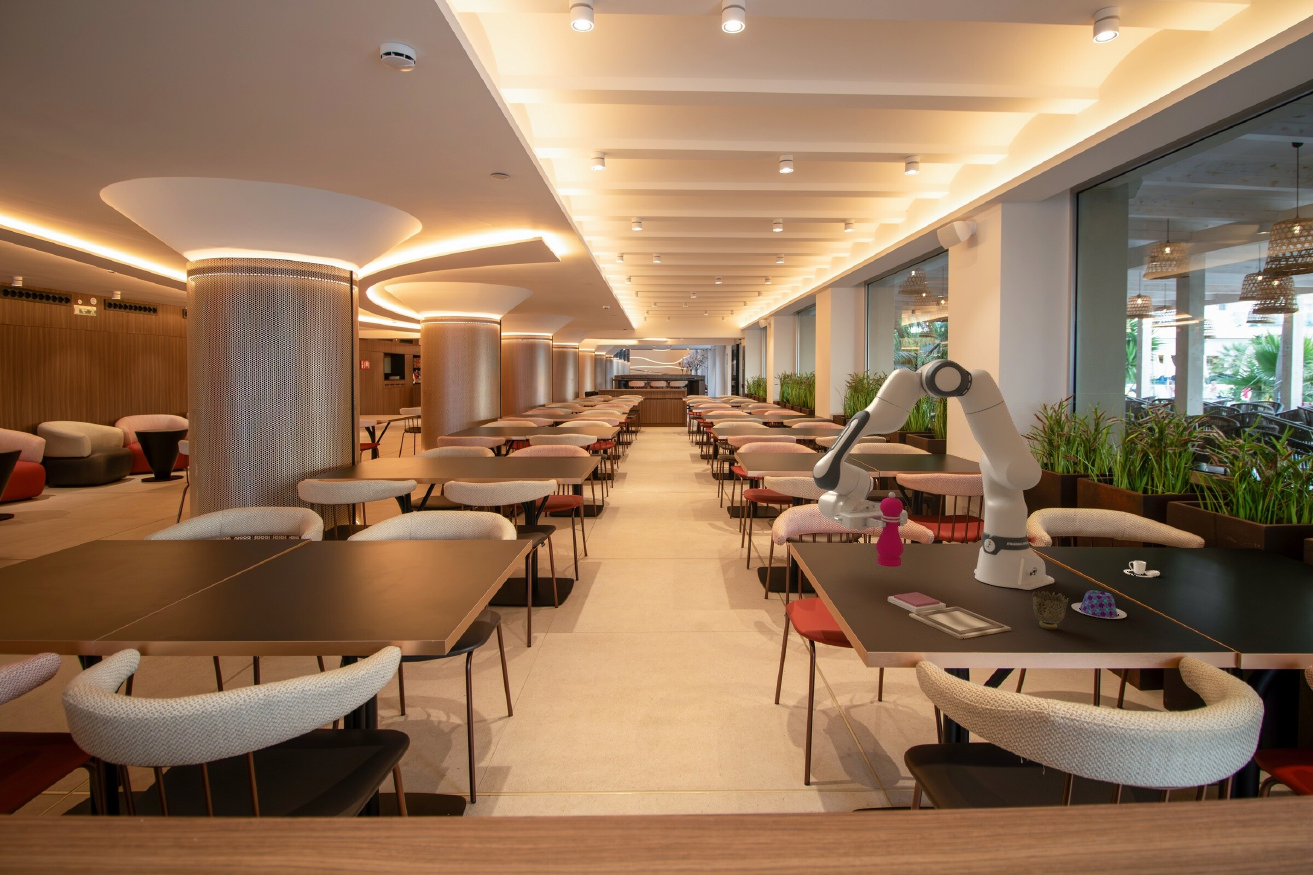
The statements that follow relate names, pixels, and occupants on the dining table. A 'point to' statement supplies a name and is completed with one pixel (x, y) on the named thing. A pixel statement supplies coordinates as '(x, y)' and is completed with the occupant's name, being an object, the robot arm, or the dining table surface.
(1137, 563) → the teacup and saucer
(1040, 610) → the cup
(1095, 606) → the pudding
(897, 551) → the pepper mill
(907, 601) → the ink pad
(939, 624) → the board
